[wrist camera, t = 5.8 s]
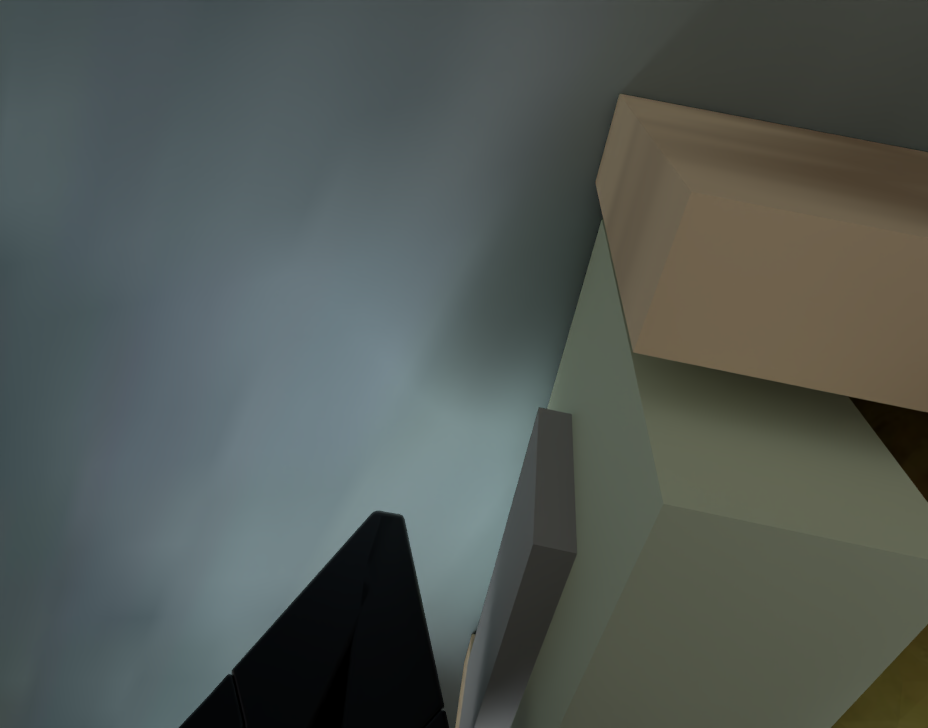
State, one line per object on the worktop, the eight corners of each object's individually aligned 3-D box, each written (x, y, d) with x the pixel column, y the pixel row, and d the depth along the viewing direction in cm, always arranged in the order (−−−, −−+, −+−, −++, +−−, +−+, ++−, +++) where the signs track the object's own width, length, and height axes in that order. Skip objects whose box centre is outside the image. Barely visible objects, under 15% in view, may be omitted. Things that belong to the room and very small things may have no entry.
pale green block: (734, 244, 9) (978, 571, 4) (567, 641, 14) (574, 1001, 9) (572, 213, 9) (593, 488, 4) (466, 619, 14) (416, 963, 9)
